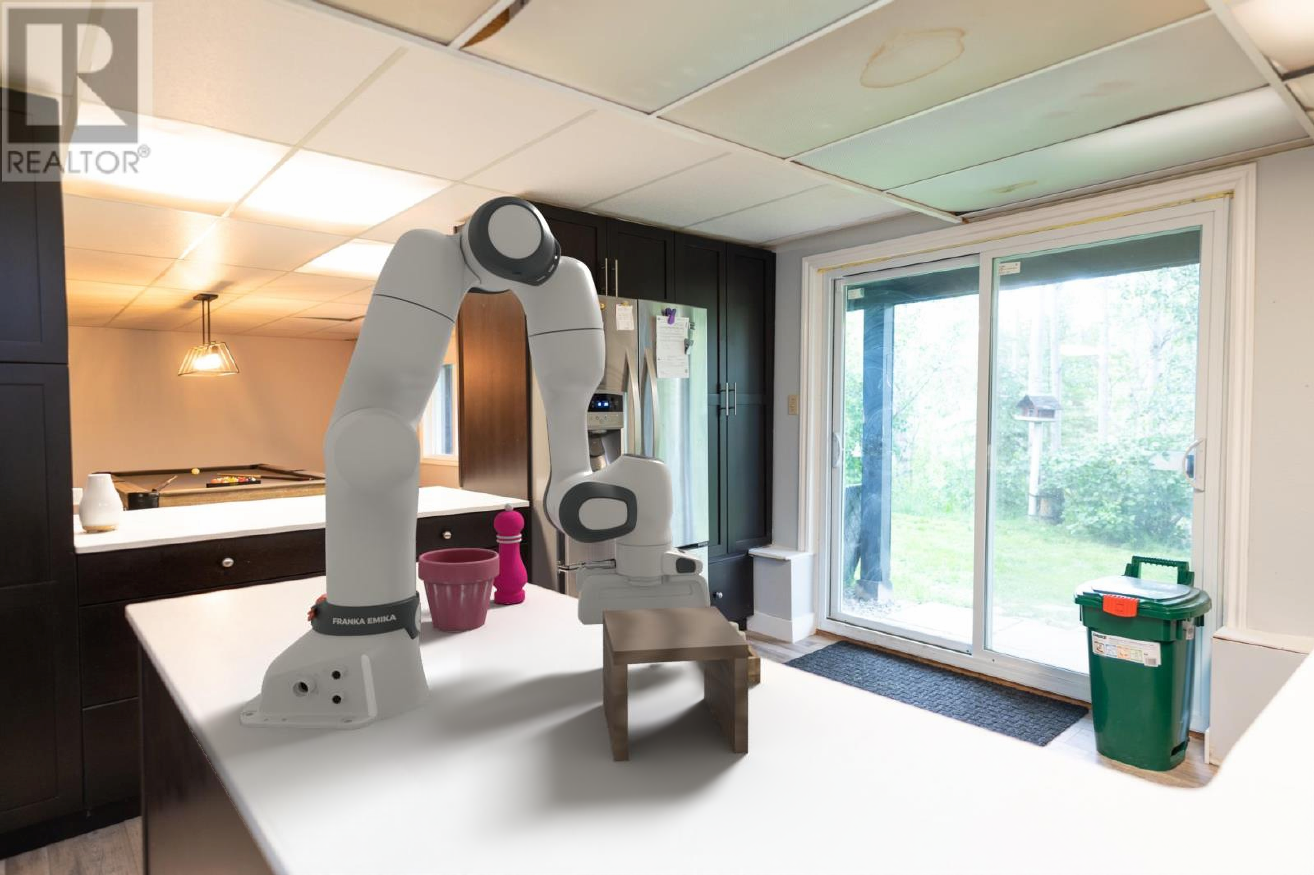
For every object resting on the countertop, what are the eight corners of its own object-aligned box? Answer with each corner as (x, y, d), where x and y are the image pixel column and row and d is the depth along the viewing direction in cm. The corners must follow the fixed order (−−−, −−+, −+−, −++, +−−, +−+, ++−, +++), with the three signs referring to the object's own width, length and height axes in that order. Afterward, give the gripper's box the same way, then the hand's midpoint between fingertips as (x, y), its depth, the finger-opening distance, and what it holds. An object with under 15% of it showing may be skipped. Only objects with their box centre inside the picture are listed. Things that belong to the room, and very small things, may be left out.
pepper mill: (519, 605, 142) (518, 505, 141) (485, 603, 143) (484, 504, 143) (532, 596, 149) (532, 501, 148) (500, 594, 150) (499, 500, 150)
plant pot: (516, 621, 131) (515, 552, 131) (457, 641, 119) (456, 566, 119) (462, 609, 139) (461, 544, 138) (401, 628, 127) (400, 557, 126)
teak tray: (718, 684, 100) (719, 641, 100) (696, 643, 118) (696, 606, 118) (760, 682, 101) (760, 639, 101) (732, 642, 119) (732, 605, 119)
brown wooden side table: (614, 765, 77) (613, 651, 77) (603, 705, 93) (602, 611, 93) (748, 755, 79) (748, 644, 79) (715, 698, 95) (715, 606, 95)
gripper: (576, 566, 104) (576, 660, 104) (713, 562, 107) (712, 653, 107) (574, 557, 110) (574, 646, 110) (703, 553, 113) (703, 639, 114)
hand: (643, 649), depth 109 cm, fingers open, 6 cm apart
